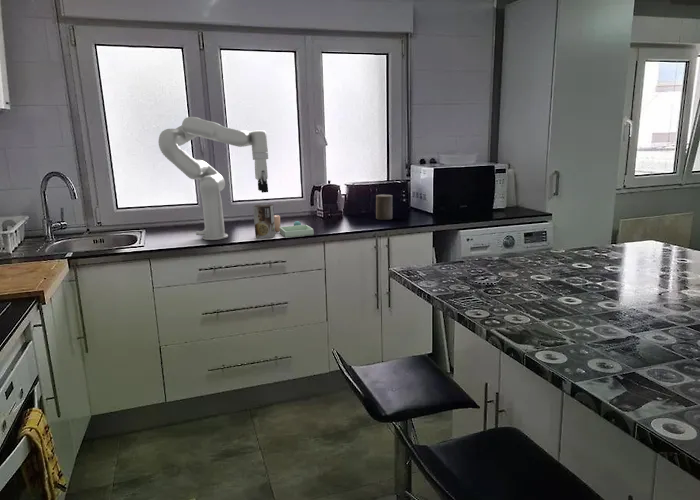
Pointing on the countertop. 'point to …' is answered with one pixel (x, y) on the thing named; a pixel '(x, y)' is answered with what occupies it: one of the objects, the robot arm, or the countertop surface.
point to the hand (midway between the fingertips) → (263, 191)
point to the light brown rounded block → (277, 223)
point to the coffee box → (264, 221)
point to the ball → (297, 223)
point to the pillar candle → (384, 207)
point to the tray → (296, 231)
